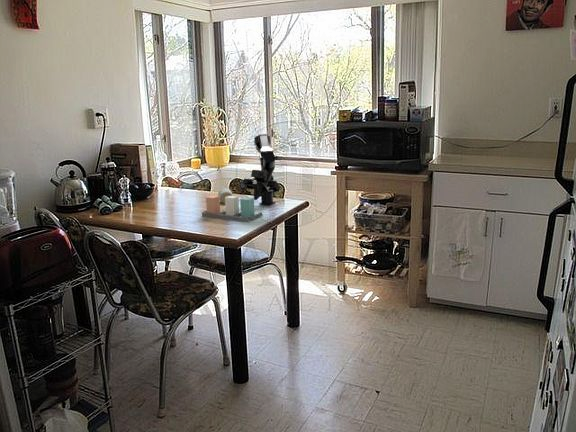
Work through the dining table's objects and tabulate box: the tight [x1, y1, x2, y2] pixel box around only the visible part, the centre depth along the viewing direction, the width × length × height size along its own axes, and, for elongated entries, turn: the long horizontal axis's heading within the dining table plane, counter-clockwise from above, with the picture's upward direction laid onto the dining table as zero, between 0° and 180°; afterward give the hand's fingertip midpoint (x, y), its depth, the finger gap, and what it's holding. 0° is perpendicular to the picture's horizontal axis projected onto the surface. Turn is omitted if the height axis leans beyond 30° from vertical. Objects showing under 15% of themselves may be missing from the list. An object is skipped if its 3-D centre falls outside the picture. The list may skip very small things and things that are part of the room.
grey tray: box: [201, 209, 264, 223], centre depth 239 cm, size 14×30×3 cm, turn 59°
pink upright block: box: [205, 195, 221, 214], centre depth 240 cm, size 4×5×9 cm
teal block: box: [239, 196, 256, 220], centre depth 234 cm, size 4×5×9 cm
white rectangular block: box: [224, 195, 240, 216], centre depth 238 cm, size 4×5×9 cm
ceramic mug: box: [217, 187, 234, 204], centre depth 268 cm, size 11×8×8 cm
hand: (254, 199), depth 237 cm, fingers closed
